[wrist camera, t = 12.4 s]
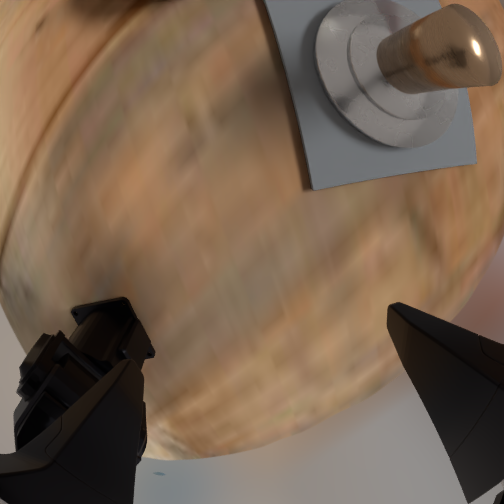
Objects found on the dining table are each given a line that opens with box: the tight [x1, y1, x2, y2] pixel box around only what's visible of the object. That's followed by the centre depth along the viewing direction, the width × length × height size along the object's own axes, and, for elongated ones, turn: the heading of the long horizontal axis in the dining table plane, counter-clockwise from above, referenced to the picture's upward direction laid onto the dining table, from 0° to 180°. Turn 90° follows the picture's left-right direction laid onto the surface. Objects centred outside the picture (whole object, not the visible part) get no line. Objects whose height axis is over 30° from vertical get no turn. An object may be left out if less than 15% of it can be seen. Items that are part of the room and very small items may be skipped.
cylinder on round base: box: [313, 0, 502, 148], centre depth 11 cm, size 12×12×9 cm
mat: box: [263, 0, 477, 190], centre depth 15 cm, size 16×16×1 cm
